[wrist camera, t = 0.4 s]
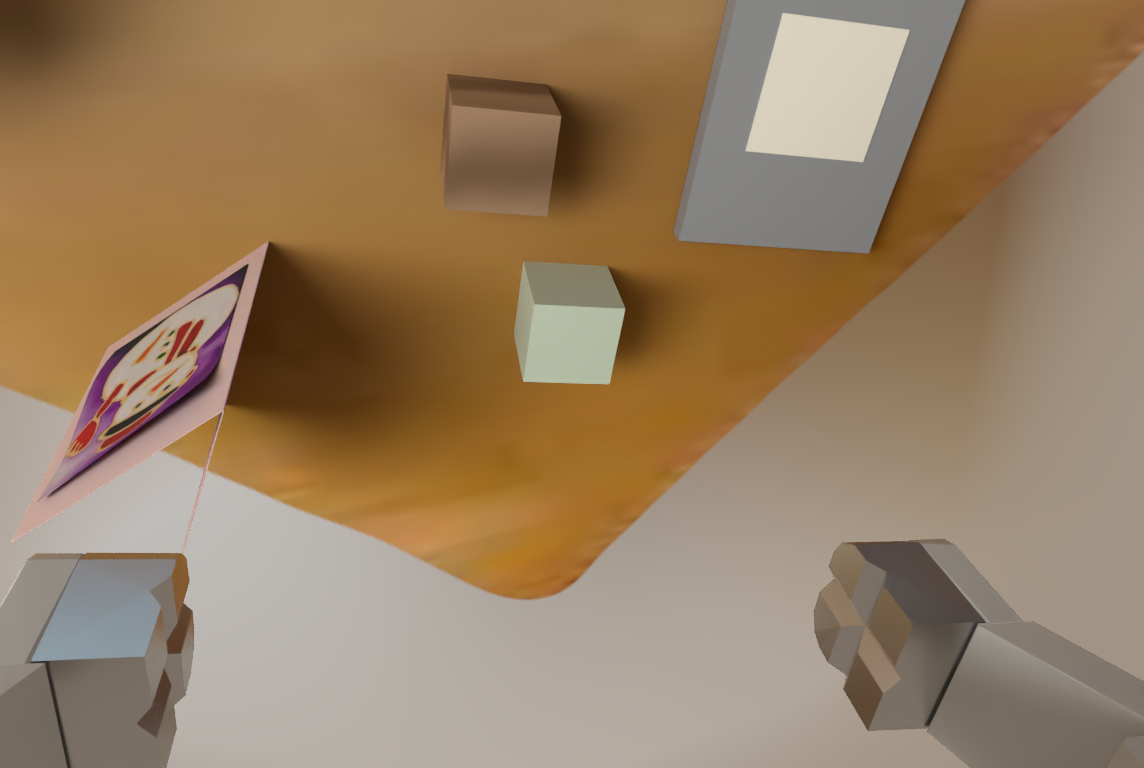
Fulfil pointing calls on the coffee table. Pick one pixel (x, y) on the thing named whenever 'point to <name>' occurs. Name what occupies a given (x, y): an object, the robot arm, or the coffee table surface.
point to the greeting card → (152, 390)
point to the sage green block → (567, 323)
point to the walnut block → (498, 145)
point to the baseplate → (810, 119)
